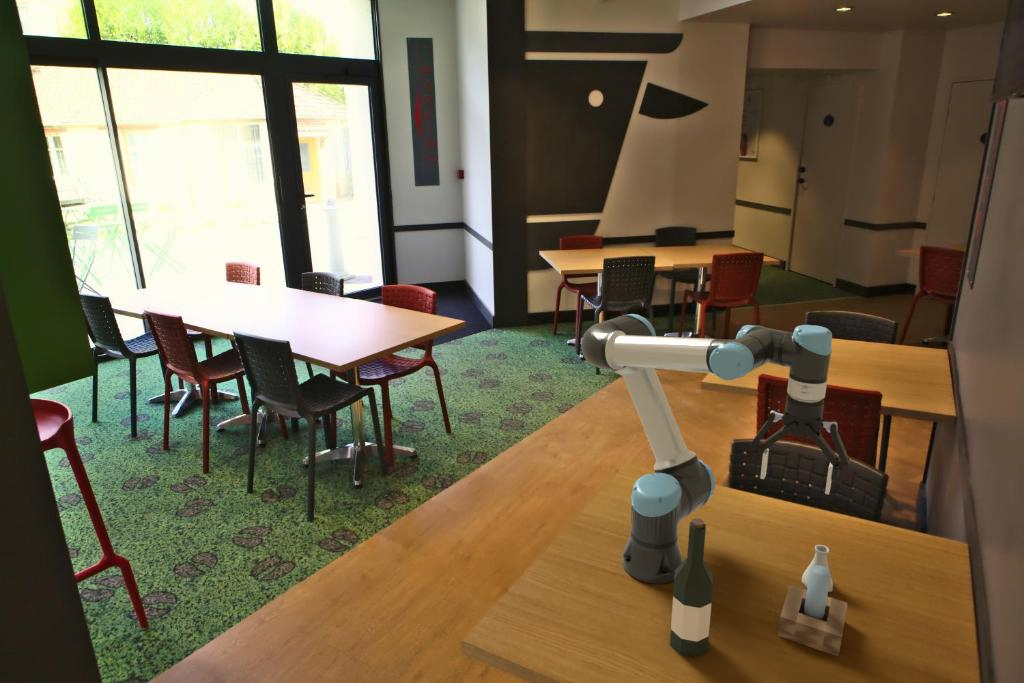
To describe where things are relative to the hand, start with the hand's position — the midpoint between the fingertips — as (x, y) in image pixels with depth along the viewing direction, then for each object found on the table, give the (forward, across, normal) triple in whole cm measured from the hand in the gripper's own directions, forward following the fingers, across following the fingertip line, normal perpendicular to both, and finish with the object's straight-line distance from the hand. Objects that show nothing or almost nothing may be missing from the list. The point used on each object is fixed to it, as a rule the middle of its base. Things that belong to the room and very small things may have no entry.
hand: (794, 483), depth 147 cm
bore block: (+29, +8, -10) cm, 31 cm away
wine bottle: (+29, -14, -28) cm, 43 cm away
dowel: (+28, +8, -10) cm, 31 cm away
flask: (+29, +7, +7) cm, 31 cm away
